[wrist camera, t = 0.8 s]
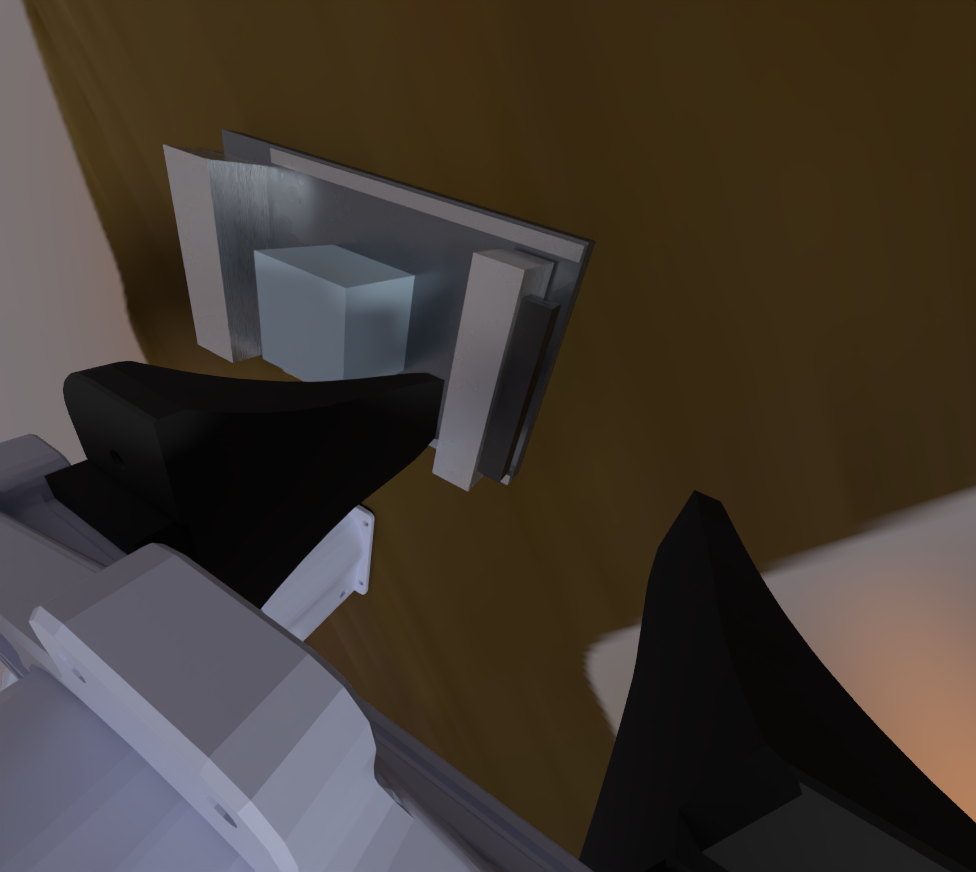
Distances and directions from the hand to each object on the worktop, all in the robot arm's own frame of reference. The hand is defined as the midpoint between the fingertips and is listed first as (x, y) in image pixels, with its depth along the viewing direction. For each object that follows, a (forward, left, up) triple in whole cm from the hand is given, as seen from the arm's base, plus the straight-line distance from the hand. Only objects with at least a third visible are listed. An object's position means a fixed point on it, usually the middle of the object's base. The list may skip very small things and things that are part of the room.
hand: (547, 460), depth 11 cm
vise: (-2, +13, -9) cm, 15 cm away
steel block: (-2, +13, -8) cm, 15 cm away
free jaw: (-1, +4, -7) cm, 9 cm away
